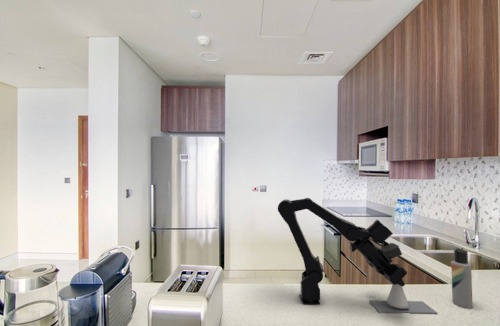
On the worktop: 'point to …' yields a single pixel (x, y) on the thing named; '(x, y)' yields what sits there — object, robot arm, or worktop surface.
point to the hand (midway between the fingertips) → (401, 283)
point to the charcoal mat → (414, 308)
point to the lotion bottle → (461, 279)
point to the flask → (397, 297)
